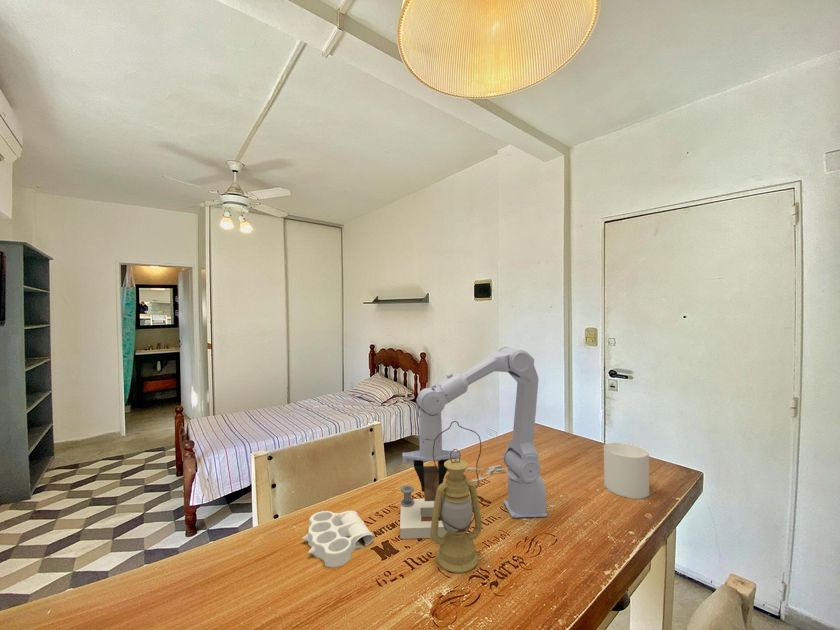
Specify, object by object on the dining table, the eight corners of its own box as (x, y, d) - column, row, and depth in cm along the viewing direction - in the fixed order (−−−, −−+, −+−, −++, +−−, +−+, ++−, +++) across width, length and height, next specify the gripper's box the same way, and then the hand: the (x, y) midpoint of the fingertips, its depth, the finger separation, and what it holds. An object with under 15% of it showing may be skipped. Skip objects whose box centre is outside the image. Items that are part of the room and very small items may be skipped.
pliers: (456, 466, 119) (496, 461, 122) (456, 471, 119) (496, 465, 122) (468, 479, 109) (510, 473, 113) (468, 484, 109) (510, 478, 113)
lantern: (473, 538, 82) (472, 412, 82) (491, 567, 72) (489, 425, 73) (425, 546, 79) (423, 416, 79) (436, 578, 70) (434, 430, 70)
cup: (606, 494, 101) (606, 454, 101) (602, 477, 112) (601, 440, 112) (653, 502, 97) (653, 459, 97) (644, 483, 107) (643, 445, 107)
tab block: (437, 492, 90) (437, 465, 90) (439, 500, 86) (438, 472, 86) (423, 493, 90) (423, 466, 90) (424, 501, 86) (424, 473, 86)
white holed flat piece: (379, 552, 78) (314, 578, 71) (351, 514, 94) (295, 532, 86) (379, 537, 78) (313, 562, 71) (351, 501, 94) (295, 518, 86)
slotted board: (444, 507, 96) (443, 483, 96) (450, 537, 83) (449, 509, 83) (401, 508, 95) (400, 485, 95) (400, 538, 82) (399, 511, 82)
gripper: (456, 430, 92) (457, 480, 92) (402, 431, 92) (403, 482, 92) (460, 439, 85) (461, 494, 85) (402, 441, 85) (402, 496, 85)
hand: (431, 489), depth 88 cm, fingers closed on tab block, 4 cm apart
